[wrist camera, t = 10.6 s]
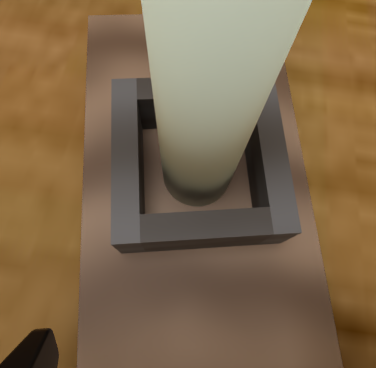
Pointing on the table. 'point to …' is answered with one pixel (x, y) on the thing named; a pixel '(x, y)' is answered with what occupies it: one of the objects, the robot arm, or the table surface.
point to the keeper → (192, 236)
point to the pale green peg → (213, 83)
